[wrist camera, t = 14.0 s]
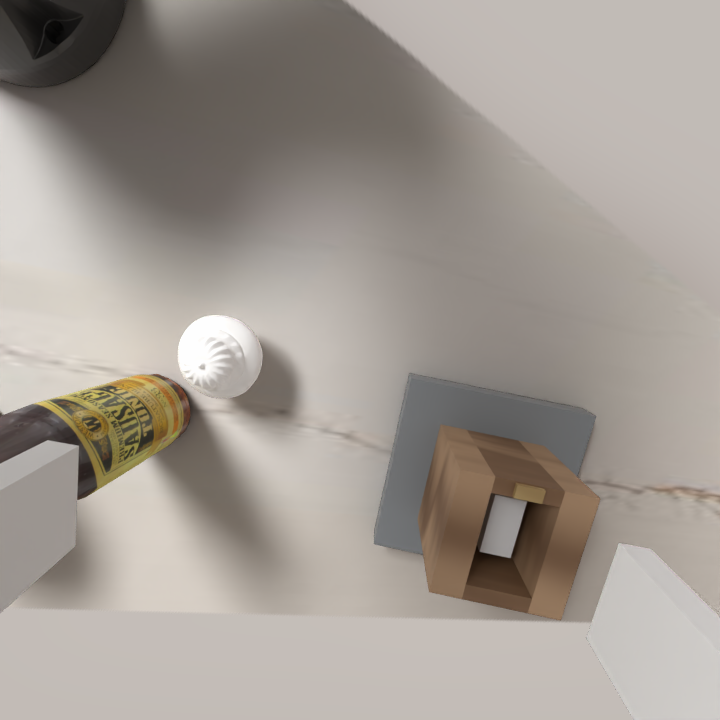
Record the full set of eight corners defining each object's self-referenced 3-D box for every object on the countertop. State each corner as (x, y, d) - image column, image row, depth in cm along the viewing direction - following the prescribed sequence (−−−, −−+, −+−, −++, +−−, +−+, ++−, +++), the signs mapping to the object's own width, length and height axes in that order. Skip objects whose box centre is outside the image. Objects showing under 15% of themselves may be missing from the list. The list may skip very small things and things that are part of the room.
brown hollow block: (516, 539, 32) (562, 624, 24) (417, 518, 32) (429, 595, 24) (544, 445, 31) (603, 501, 23) (440, 424, 31) (461, 471, 23)
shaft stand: (409, 373, 32) (418, 398, 25) (583, 408, 32) (648, 446, 24) (374, 529, 35) (372, 599, 27) (535, 564, 35) (581, 644, 27)
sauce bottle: (209, 415, 34) (-26, 583, 14) (154, 455, 35) (-139, 665, 15) (159, 352, 33) (-159, 438, 14) (104, 394, 34) (-269, 533, 15)
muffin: (288, 367, 33) (263, 387, 26) (223, 399, 34) (182, 427, 27) (251, 298, 32) (215, 300, 25) (186, 332, 33) (134, 343, 26)
